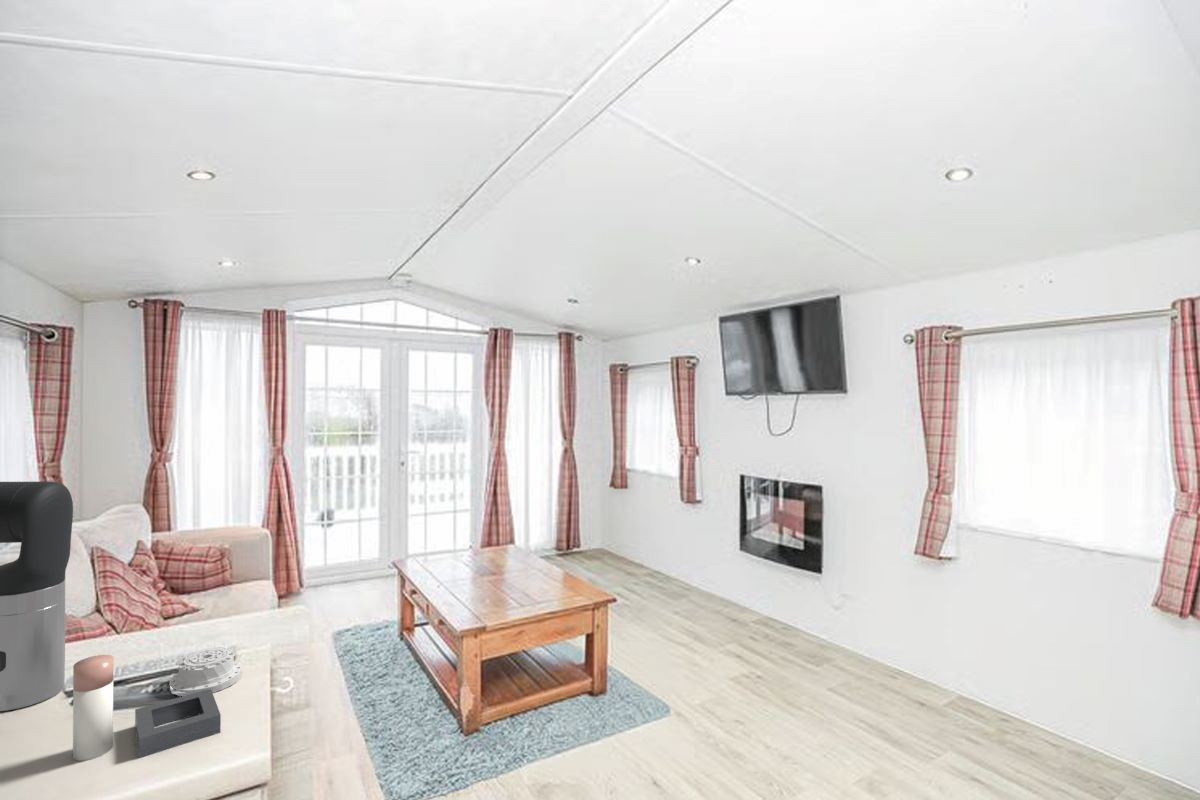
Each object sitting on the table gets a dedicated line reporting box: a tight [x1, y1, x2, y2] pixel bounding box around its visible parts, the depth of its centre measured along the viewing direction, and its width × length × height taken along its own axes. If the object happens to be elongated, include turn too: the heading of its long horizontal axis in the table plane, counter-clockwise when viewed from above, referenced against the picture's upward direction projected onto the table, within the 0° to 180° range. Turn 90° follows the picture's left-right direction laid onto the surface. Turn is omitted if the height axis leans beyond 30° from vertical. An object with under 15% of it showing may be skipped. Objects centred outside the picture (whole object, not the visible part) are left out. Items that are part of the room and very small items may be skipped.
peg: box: [72, 654, 114, 762], centre depth 77 cm, size 4×4×12 cm
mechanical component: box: [168, 646, 243, 694], centre depth 95 cm, size 10×4×10 cm
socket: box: [134, 689, 222, 759], centre depth 82 cm, size 9×9×2 cm
